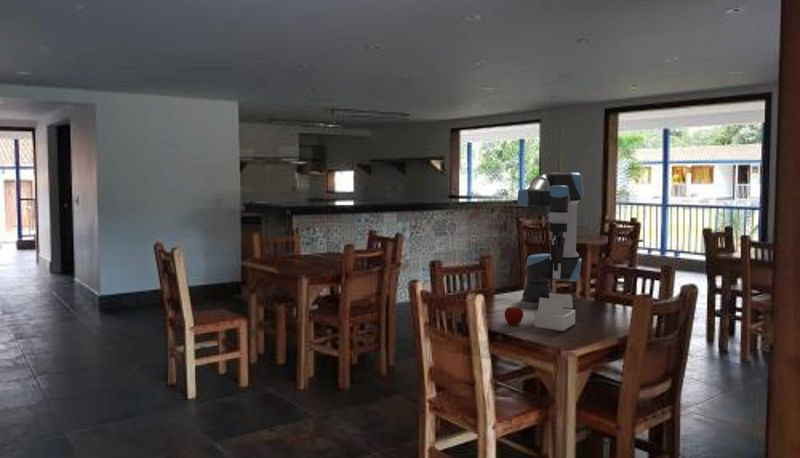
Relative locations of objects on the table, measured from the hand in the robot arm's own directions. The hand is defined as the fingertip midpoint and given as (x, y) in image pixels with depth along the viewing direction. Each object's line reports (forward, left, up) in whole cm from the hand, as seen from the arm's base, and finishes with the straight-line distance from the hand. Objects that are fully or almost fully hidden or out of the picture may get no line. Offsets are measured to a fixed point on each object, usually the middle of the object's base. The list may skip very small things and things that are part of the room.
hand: (556, 278), depth 265 cm
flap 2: (-7, 0, -11) cm, 13 cm away
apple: (+8, -15, -20) cm, 27 cm away
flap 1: (+6, 0, -11) cm, 13 cm away
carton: (0, 0, -20) cm, 20 cm away
